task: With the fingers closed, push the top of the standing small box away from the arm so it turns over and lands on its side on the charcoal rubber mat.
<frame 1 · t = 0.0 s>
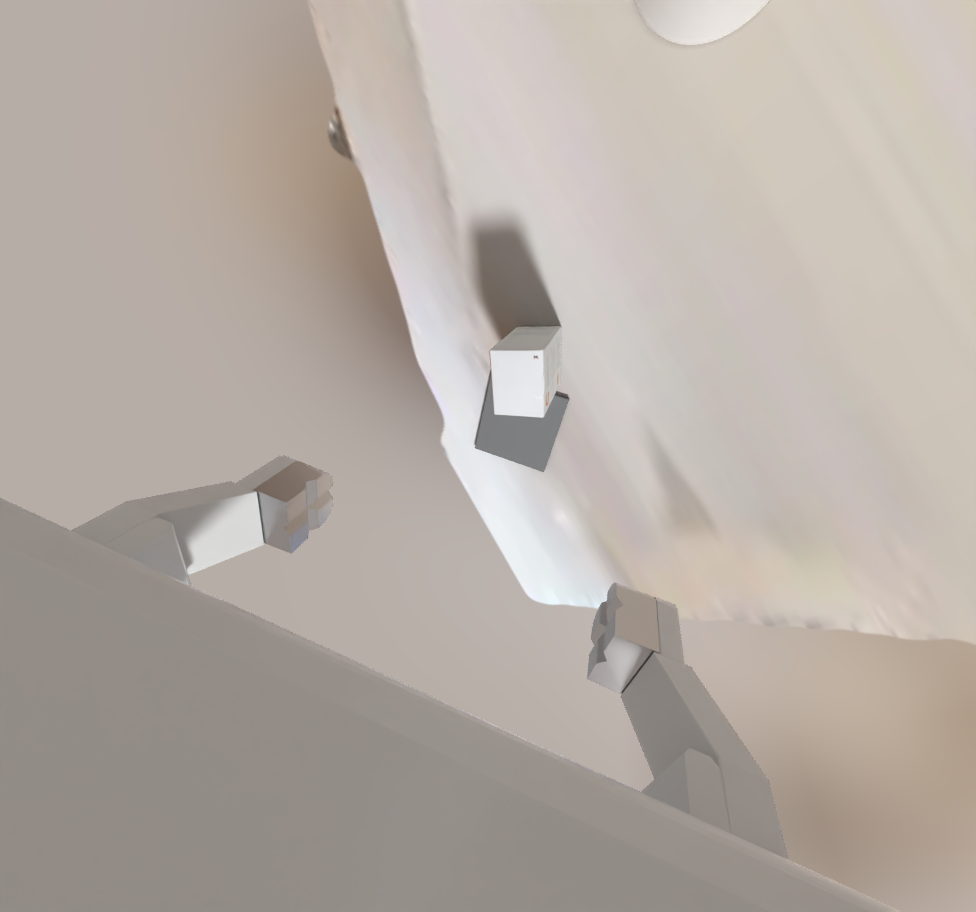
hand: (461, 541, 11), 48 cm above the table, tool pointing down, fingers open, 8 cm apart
mat: (519, 424, 62), on the table
small box: (539, 354, 57), on the table
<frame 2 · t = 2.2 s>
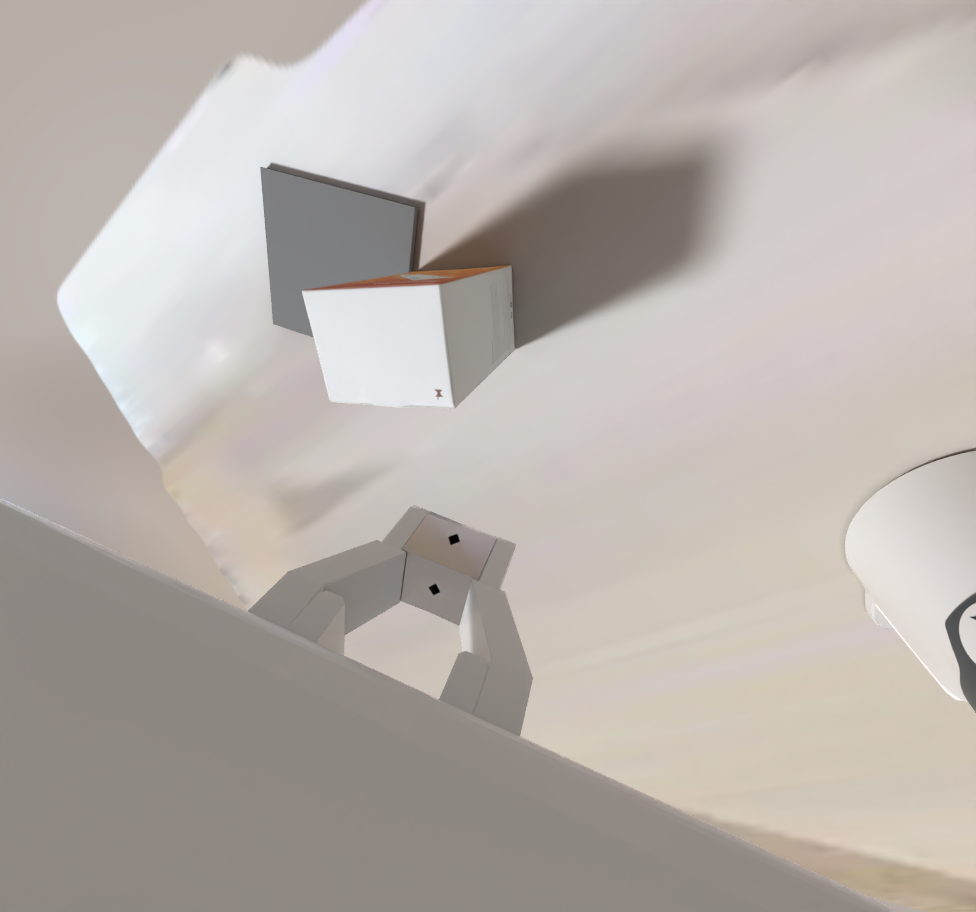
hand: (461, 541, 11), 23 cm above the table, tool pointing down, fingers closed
mat: (339, 272, 33), on the table
small box: (466, 310, 32), on the table
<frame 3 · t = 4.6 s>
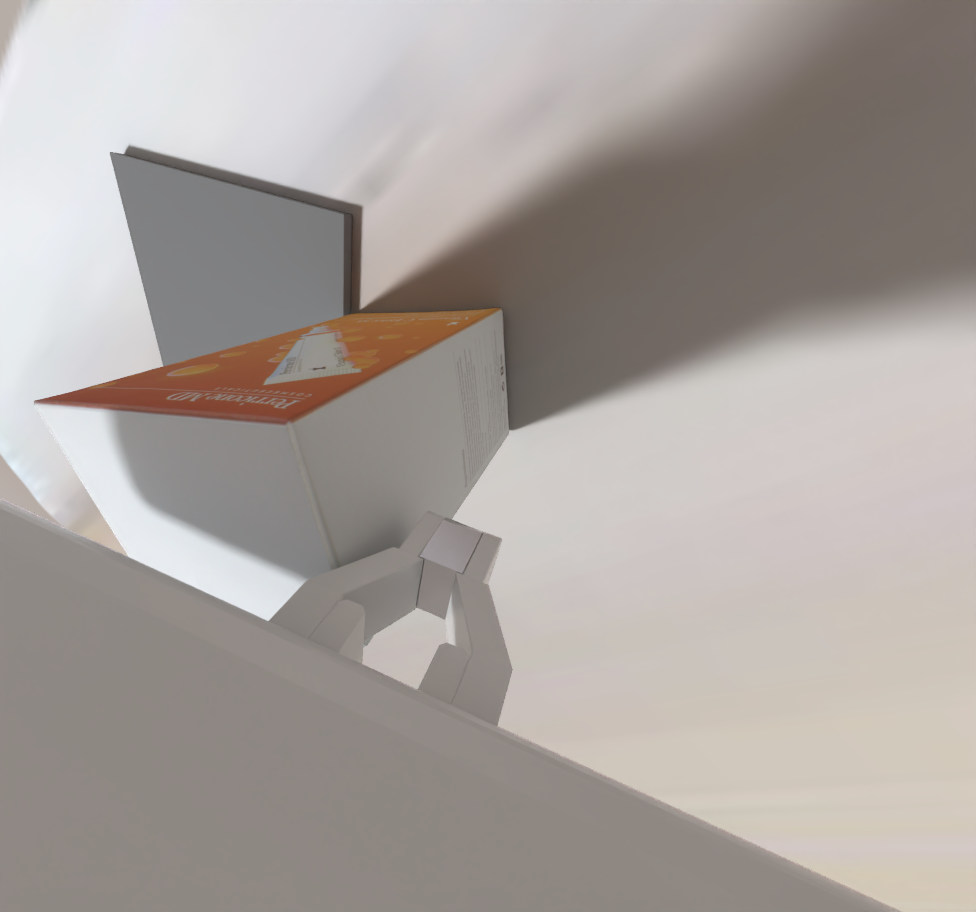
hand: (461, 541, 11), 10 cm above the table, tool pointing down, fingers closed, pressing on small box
mat: (246, 311, 22), on the table
small box: (434, 371, 21), on the table, touching gripper
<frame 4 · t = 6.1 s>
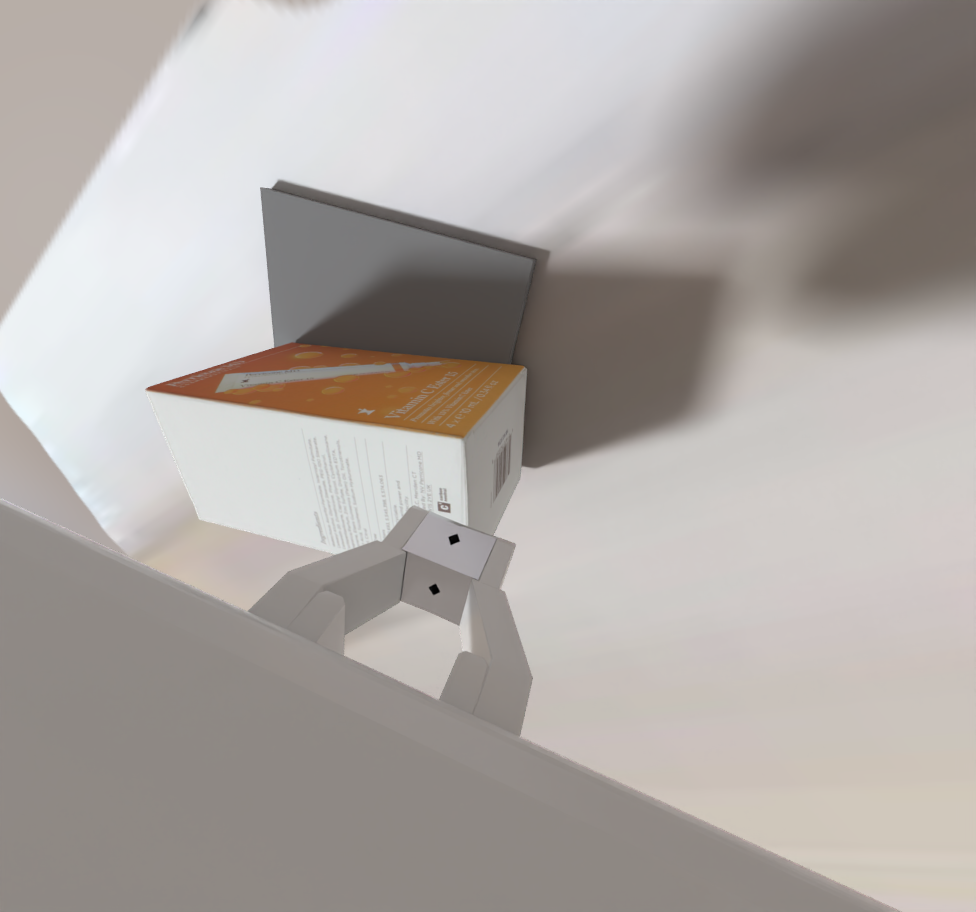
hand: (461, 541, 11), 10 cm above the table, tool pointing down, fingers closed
mat: (386, 353, 21), on the table
small box: (508, 465, 16), point 5 cm above the table, touching mat
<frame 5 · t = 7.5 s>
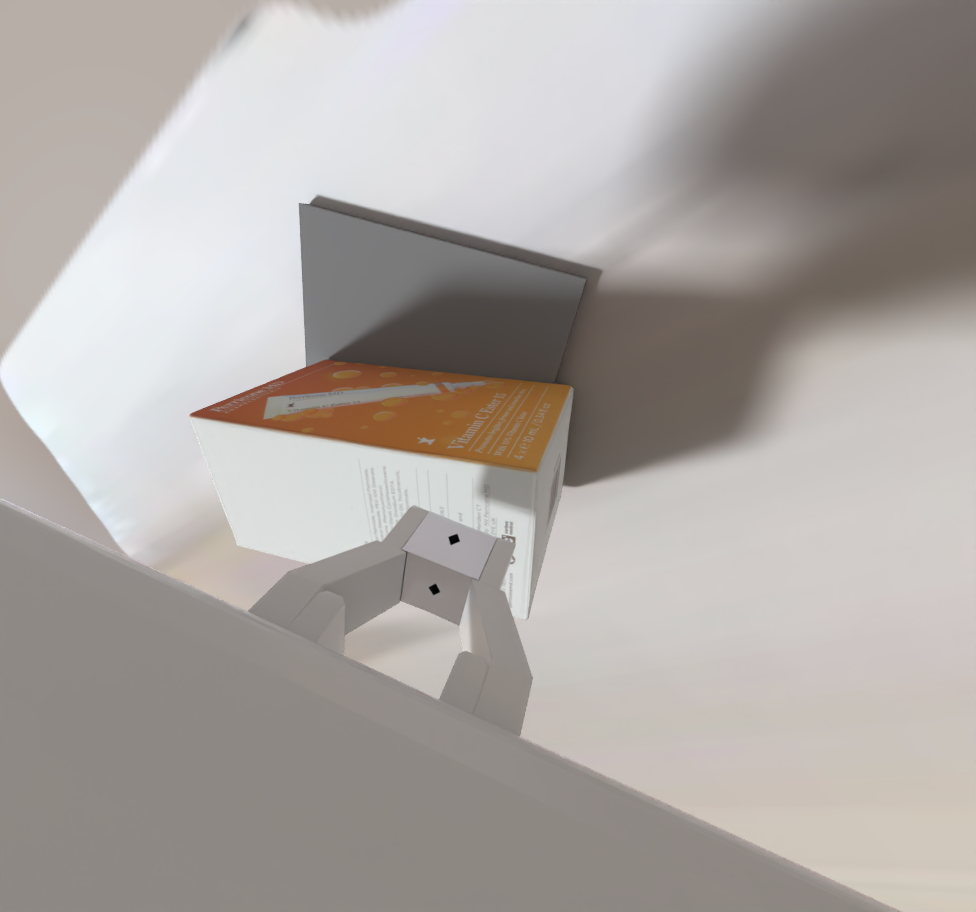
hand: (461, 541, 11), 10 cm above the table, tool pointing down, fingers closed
mat: (423, 370, 20), on the table
small box: (560, 489, 16), point 5 cm above the table, touching mat
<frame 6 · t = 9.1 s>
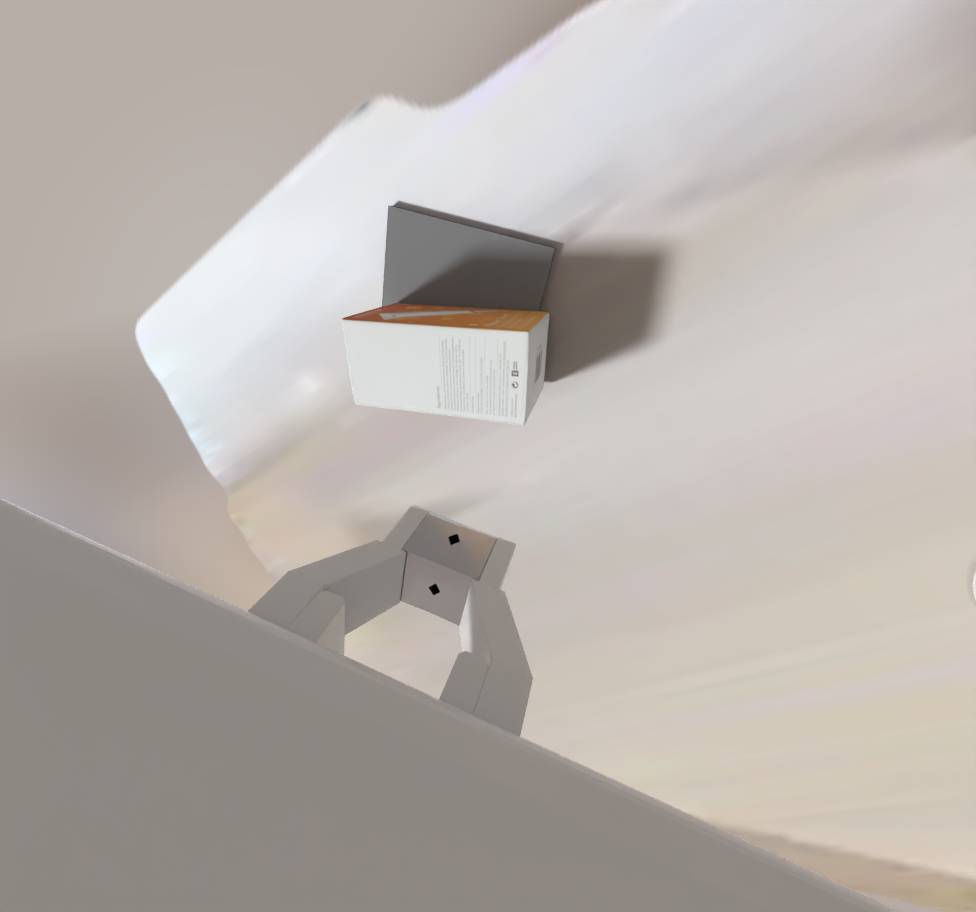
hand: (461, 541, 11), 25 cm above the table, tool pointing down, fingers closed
mat: (458, 308, 33), on the table
small box: (541, 364, 28), point 5 cm above the table, touching mat
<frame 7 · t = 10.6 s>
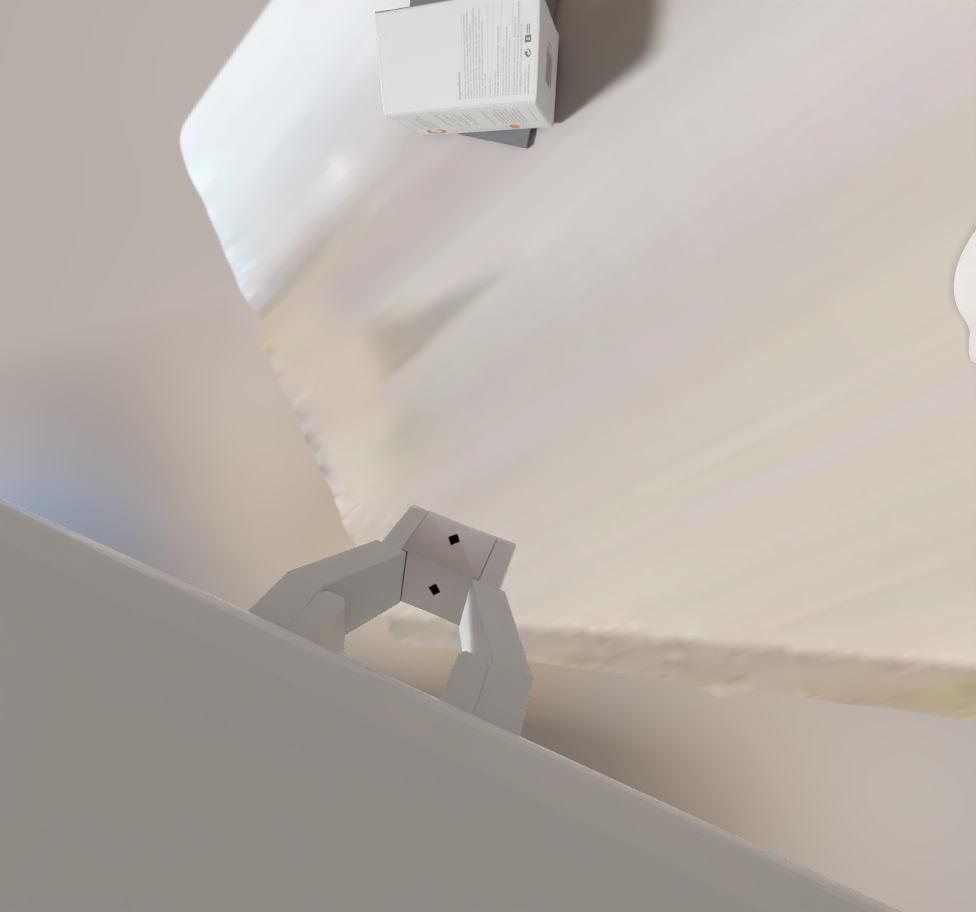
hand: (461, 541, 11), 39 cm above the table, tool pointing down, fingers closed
mat: (475, 52, 36), on the table
small box: (551, 65, 32), point 5 cm above the table, touching mat
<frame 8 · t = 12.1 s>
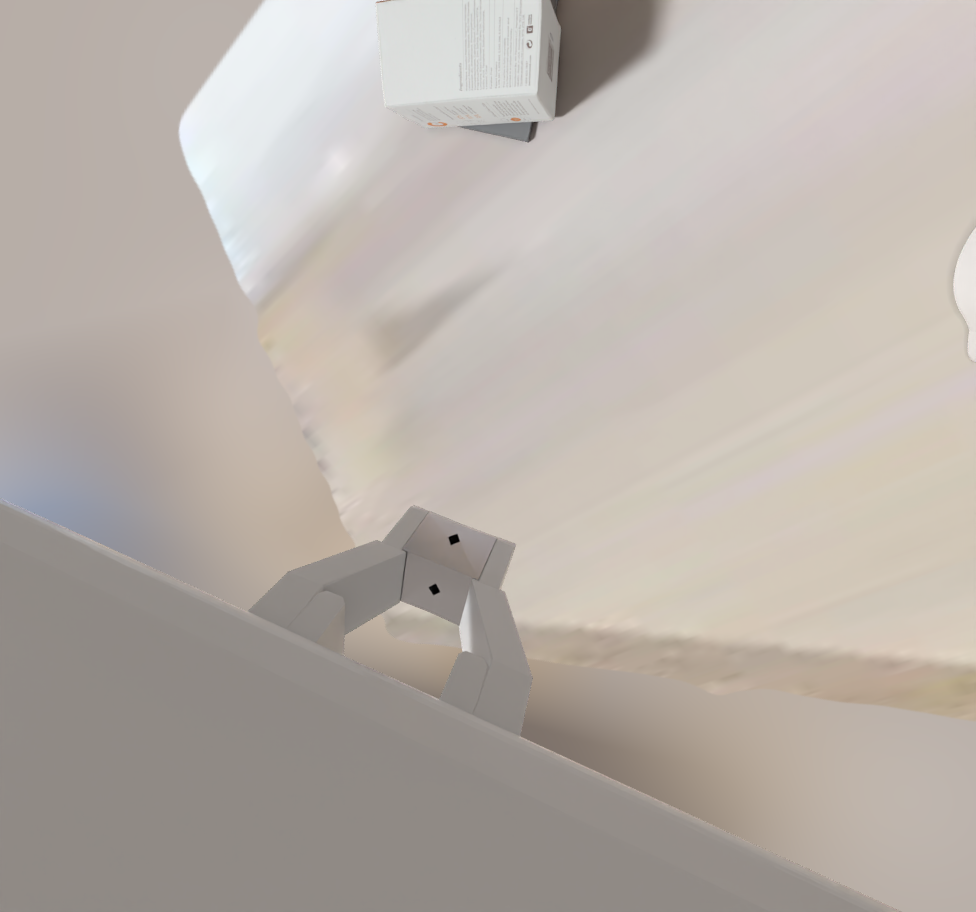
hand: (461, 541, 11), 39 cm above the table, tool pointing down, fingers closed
mat: (477, 44, 36), on the table
small box: (553, 57, 31), point 5 cm above the table, touching mat
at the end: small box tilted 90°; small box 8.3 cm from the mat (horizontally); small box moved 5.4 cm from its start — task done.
